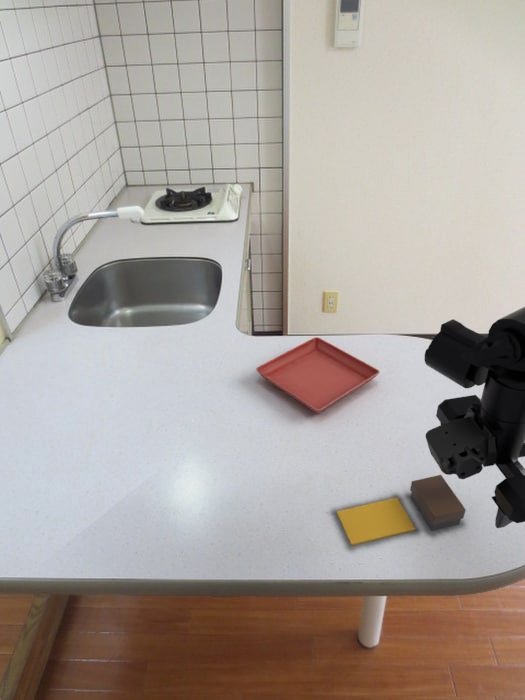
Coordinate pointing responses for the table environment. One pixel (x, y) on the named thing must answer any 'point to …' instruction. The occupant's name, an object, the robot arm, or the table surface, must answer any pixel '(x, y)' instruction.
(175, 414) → the table surface
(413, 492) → the brown rectangular block
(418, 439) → the table surface
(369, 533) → the cloth
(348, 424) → the table surface
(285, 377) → the plant saucer
